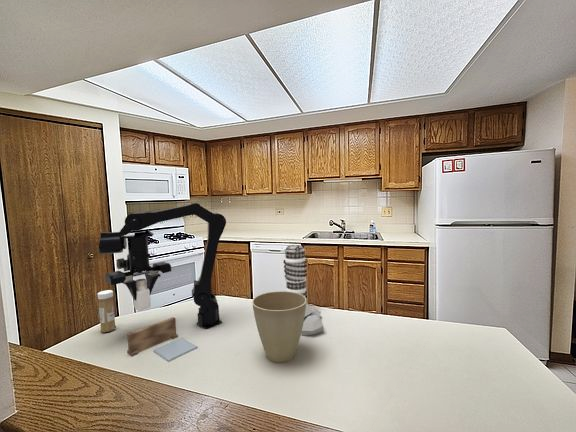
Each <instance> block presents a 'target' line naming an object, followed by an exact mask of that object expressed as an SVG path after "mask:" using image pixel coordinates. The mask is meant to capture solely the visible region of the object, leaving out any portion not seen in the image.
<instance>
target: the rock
mask: <svg viewBox="0 0 576 432" xmlns="http://www.w3.org/2000/svg"><path fill="white" fill-rule="evenodd" d="M321 314H322V312H321V311H320V310H319V309H317V308H316V307H315V306H313V305H311V304H310V305H309V303H308V301H307V302H306V310H305V317H304V323H303V328H302V332H301V335H302V336H312V335H317V334H319V333H321V332H324V323H323V321H322V318H321V317H320V316H321Z"/></svg>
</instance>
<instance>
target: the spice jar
mask: <svg viewBox="0 0 576 432" xmlns="http://www.w3.org/2000/svg"><path fill="white" fill-rule="evenodd" d="M97 300H98V310H99V311H98V313H99V314H98V315H99V322H100V332H101V333H108V332H112V331H113V330H115V329H116V327H117V326H116V320H115V319H116V318H115V317H116V315H115V307H114V291H113V290H111V289H107V290H101V291H99V292H97Z"/></svg>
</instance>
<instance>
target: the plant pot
mask: <svg viewBox="0 0 576 432" xmlns="http://www.w3.org/2000/svg"><path fill="white" fill-rule="evenodd" d="M306 299H307V298H305V297H304V296H303V295H301V294H299V293H295V292H287V291H286V290H285V291H284V290H281V291H279V290H277V291H268V292H264V293H261V294H259V295H256V296H255V297H253V299H252V300H251V301H252V302H251V304H252V310H253V316H254V320H255V325H256V328H257V333H258V336H259V338H260V341H261V345H262V347H263V350H264V353H265V354H266V357H267V359H268V360H269V361H271V362H275V363H285V362H289V361H290V360H292V359H293V358H294V357H295V354H296V352H297V349H298V345H299V343H300V339H301V335H302V333H301V332H302V328H303V323H304V319H305V318H306V317H305V310H306V302H307V303H308V299H307V300H306Z"/></svg>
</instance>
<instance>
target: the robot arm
mask: <svg viewBox="0 0 576 432" xmlns="http://www.w3.org/2000/svg"><path fill="white" fill-rule="evenodd" d="M193 215H195V216H196V217H198V218H200V219H201V220H203V221H205V222H207V240H206V245H205V251H204V256H203V260H202V266H201V269H200V276H199V278H198V279H197V280H195V279H194V280H193V287H192V289H191V297H192V298H193V302H194V304H195V305H196V306H198V312H197V322H196V325H198V326H200V327H201V328H204V329H207V330H208V329H210V328H213V327H215V326H217V325H219V324H222V323H223V320H221V319H220V308H219V304H218V300H217V296H216V295H215V294H214V293H212V277H213V272H214V268H215V267H214V266H215V261H216V256H217V250H218V248H219V247H218V246H219V243H220V242H219V241H220V240H221V238H222V237H221V236H222V235H223V233H224V231H225V227H226V225H227V220H226V217H225V216H224V215H223V214H222V213H218V212H212V211H210V210H208V209H207V208H205V207H204V206H202V205H201V204H199V203H198V202H192V203H190V204H186V205H181V206H176V207H171V208H166V209H162V210H155V211H137V212H132V213H129V214H127V216H125V219H124V225H123V226H122V228H121V229H120V231H113V232H109V231H106V232H105V231H103V232H100V238H99V241H98V250H99V253H100V254H101V255H110V254H120V253H123V252H124V250H127V251H128V254H127V255H126V259H125V258H124V257H122V258H121V257H120V258H117V259H116V269H117V270H115V271H111V272H107V273H106V274H105V275H104V283H106V284H108V285H111V286H113V285H119V284H124V285H125V286H126V287H127V289H128V291H129V292H130V294H131V296H132V299H133V301H134V300H136V297H137V291H136V281H135V280H134V277H137V276H139V277H140V276H142V275H144V277H145V279H146V288H148V289H149V290H150V295H151V294H152V292H153V288H154V286H155V284H156V282H157V281H158V278H159V277H161V274H160V273H159V272H161V273H162V274H167V273H170V272H172V265H171V264H170V263H169V262H165V261H160V262H156V263H155V262H154V263H153V264H152V266H151V265H150V257H151V253H149V242H148V238H150V237H153V236H154V232H152V231H151V230H150V229H148V228H149V227H151V226H153V225H156V224H158V223H161V222H167V221H170V220H176V219H179V218H185V217H188V216H193ZM146 228H147V229H146ZM144 229H146V230H145V231H141V230H144ZM132 232H134V234H133V235H132V234H131V233H132ZM129 234H131V235H129ZM121 269H123V271H121Z"/></svg>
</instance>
